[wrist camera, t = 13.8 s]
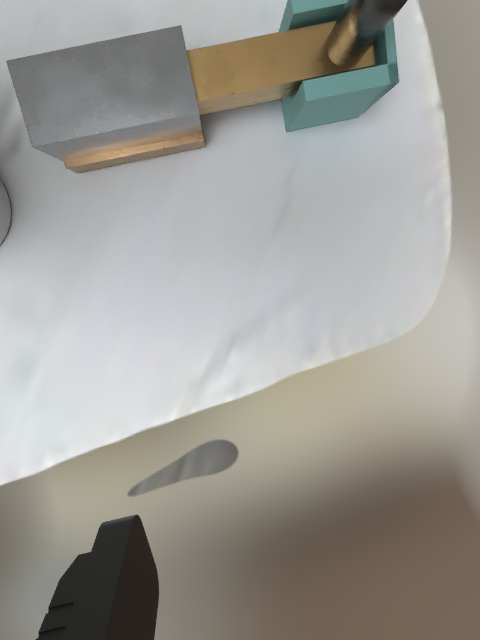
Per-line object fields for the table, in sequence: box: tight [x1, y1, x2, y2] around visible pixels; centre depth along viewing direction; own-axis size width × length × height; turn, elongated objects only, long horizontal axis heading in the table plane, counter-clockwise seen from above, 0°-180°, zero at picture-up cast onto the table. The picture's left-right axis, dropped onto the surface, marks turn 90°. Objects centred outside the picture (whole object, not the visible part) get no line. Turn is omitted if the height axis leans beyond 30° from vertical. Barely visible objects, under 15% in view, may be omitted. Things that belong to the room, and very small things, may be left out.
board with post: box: [186, 0, 407, 115], centre depth 21 cm, size 14×3×12 cm, turn 101°
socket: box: [279, 0, 399, 132], centre depth 27 cm, size 6×6×8 cm
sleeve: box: [6, 25, 205, 173], centre depth 27 cm, size 11×6×8 cm, turn 101°
